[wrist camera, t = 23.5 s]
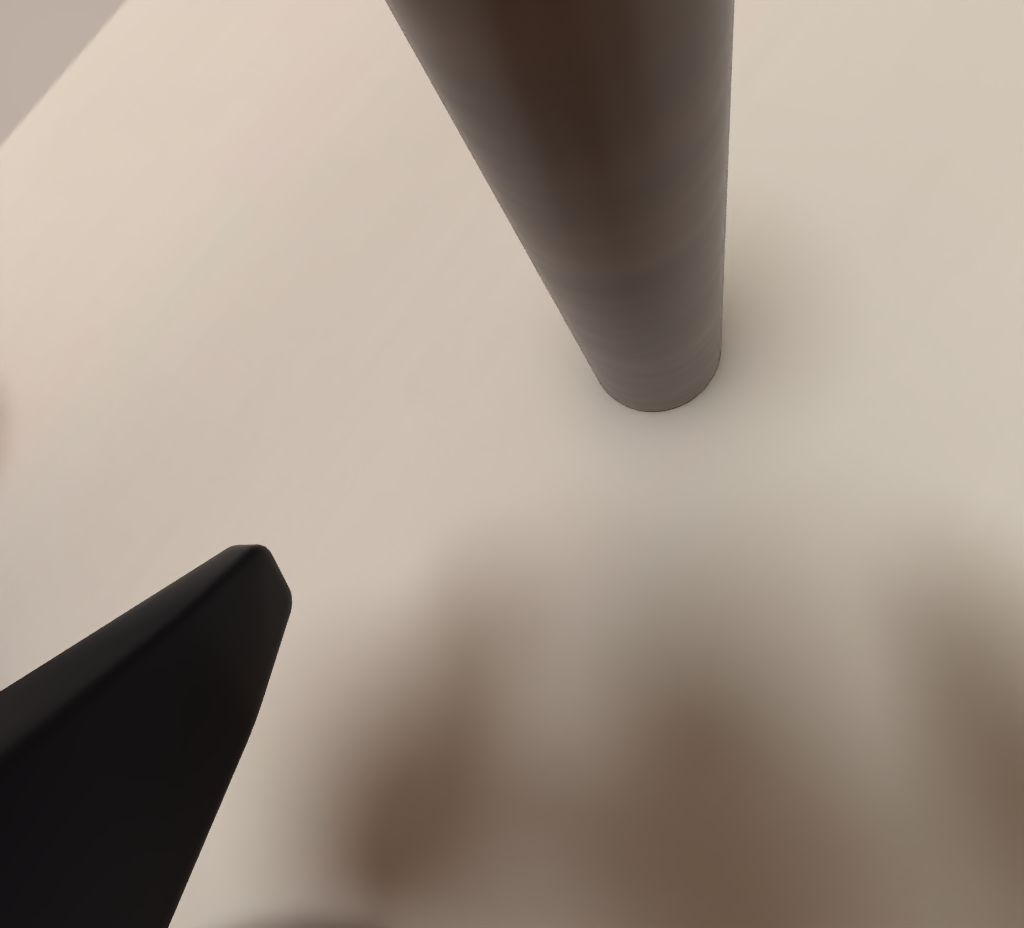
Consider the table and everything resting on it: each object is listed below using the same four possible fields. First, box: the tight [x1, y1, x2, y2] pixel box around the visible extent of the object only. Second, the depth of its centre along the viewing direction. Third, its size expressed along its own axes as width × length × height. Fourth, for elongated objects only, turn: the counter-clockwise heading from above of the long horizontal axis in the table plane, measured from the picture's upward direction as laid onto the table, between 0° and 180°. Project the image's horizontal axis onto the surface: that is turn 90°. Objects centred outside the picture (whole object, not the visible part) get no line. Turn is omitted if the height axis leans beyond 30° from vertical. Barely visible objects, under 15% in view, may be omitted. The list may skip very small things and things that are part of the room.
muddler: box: [385, 0, 734, 411], centre depth 9 cm, size 3×3×15 cm
